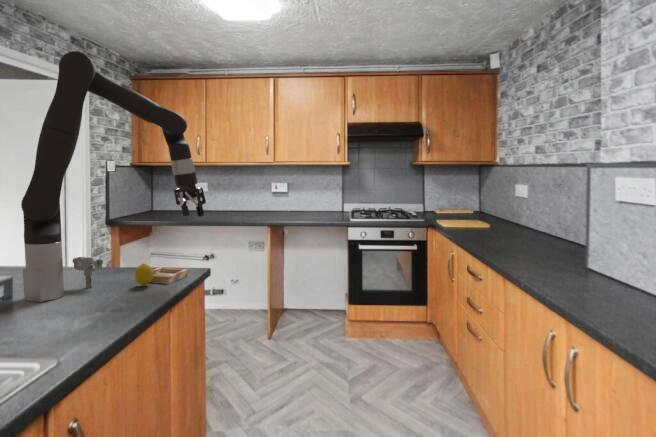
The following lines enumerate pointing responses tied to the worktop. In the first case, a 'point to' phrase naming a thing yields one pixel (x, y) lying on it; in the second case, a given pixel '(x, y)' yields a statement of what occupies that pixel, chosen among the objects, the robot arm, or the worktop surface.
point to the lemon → (144, 274)
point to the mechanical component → (87, 267)
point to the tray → (168, 275)
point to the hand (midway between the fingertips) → (193, 216)
